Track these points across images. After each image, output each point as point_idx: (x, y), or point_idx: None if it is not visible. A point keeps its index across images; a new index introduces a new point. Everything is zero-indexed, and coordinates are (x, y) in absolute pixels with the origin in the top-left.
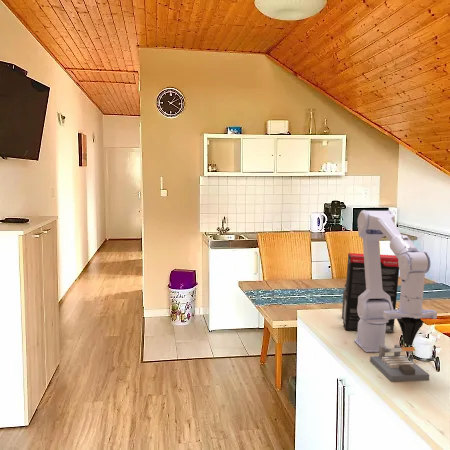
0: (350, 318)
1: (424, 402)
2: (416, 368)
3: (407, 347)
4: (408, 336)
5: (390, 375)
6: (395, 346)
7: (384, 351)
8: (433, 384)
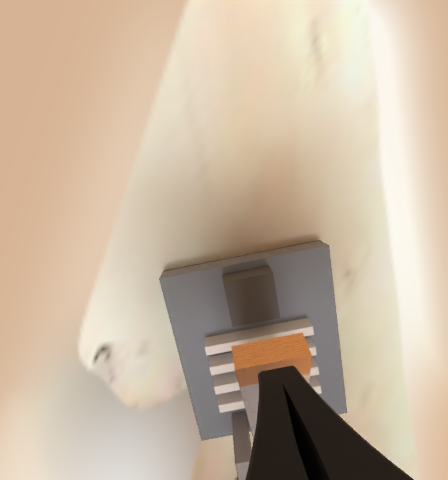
0: None
1: (250, 70)
2: (195, 329)
3: (284, 358)
4: (333, 417)
5: (329, 253)
6: None
7: None
8: (158, 234)
